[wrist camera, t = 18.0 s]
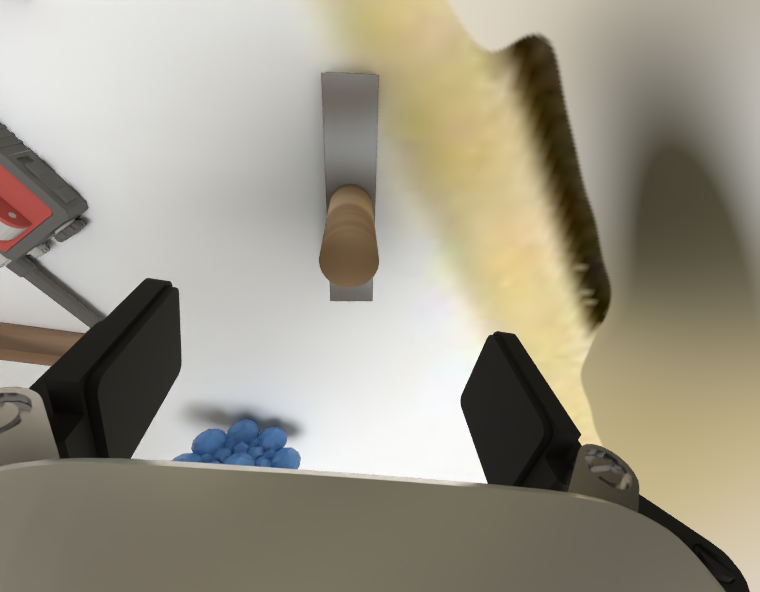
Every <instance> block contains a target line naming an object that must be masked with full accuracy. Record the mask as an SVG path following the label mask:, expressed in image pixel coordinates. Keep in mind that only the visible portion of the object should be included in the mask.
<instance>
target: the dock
mask: <svg viewBox="0 0 760 592" xmlns="http://www.w3.org/2000/svg"><path fill="white" fill-rule="evenodd" d="M83 335H84V334H82V333H74V332H67V331H60V330H52V329H45V328H37V327H30V326H22V325H15V324H7V323H0V360H7V361H15V362H23V363H32V364H40V365H48V366H52V365H53V364H55V363H56V362H57V361H58V360H59V359H60V358H61V357H62V356H63V355H64V354H65V353H66V352H67V351H68V350H69V349H70V348H71V347H72V346H73V345H74V344H75V343H76V342H77V341H78V340H79V339H80V338H81V337H82V336H83Z"/></svg>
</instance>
